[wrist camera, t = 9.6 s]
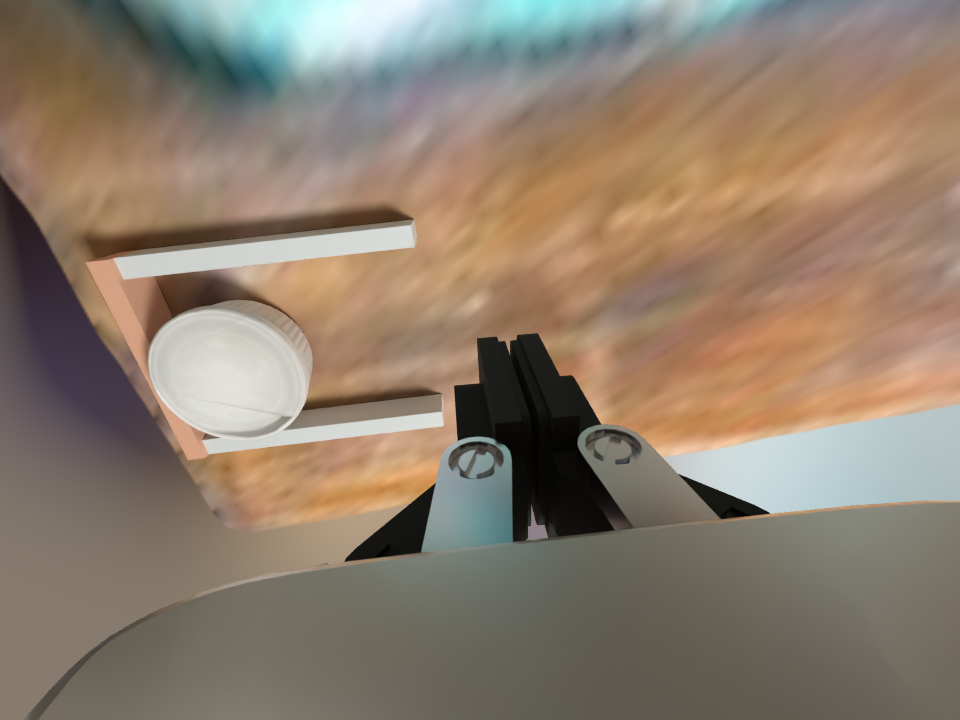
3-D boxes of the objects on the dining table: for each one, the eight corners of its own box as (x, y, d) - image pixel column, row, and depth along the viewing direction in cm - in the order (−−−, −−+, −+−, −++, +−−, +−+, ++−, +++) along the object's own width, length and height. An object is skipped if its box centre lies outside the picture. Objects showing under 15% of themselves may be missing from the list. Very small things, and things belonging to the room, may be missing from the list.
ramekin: (231, 420, 38) (201, 457, 34) (157, 311, 34) (108, 336, 29) (345, 387, 38) (330, 420, 33) (286, 270, 33) (258, 289, 28)
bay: (121, 251, 31) (85, 262, 28) (414, 219, 32) (410, 226, 28) (209, 435, 39) (187, 460, 36) (444, 407, 39) (443, 429, 36)
